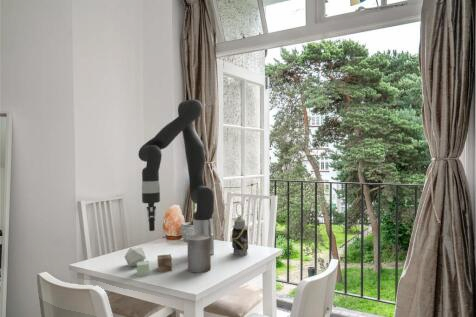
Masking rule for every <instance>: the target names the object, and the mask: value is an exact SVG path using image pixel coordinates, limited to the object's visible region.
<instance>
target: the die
mask: <svg viewBox="0 0 476 317" xmlns="http://www.w3.org/2000/svg"><path fill="white" fill-rule="evenodd" d="M146 258H147V257H146V254H145V251H144V249H143V247H142V246H139V247H138V246H137V247H129V249H128V250H127V252H126V254H125V255H124V259H125V261H126V264H127V266H128V267H131V268H133V267H137V262H144V261H146Z"/></svg>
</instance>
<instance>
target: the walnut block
mask: <svg viewBox="0 0 476 317" xmlns="http://www.w3.org/2000/svg"><path fill="white" fill-rule="evenodd" d="M172 259H173V258H172V255H171V254H161V255H160V254H159V255H157V271H158V273H161V272H164V273H165V272H172V271H173V264H172V263H173V262H172Z"/></svg>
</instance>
